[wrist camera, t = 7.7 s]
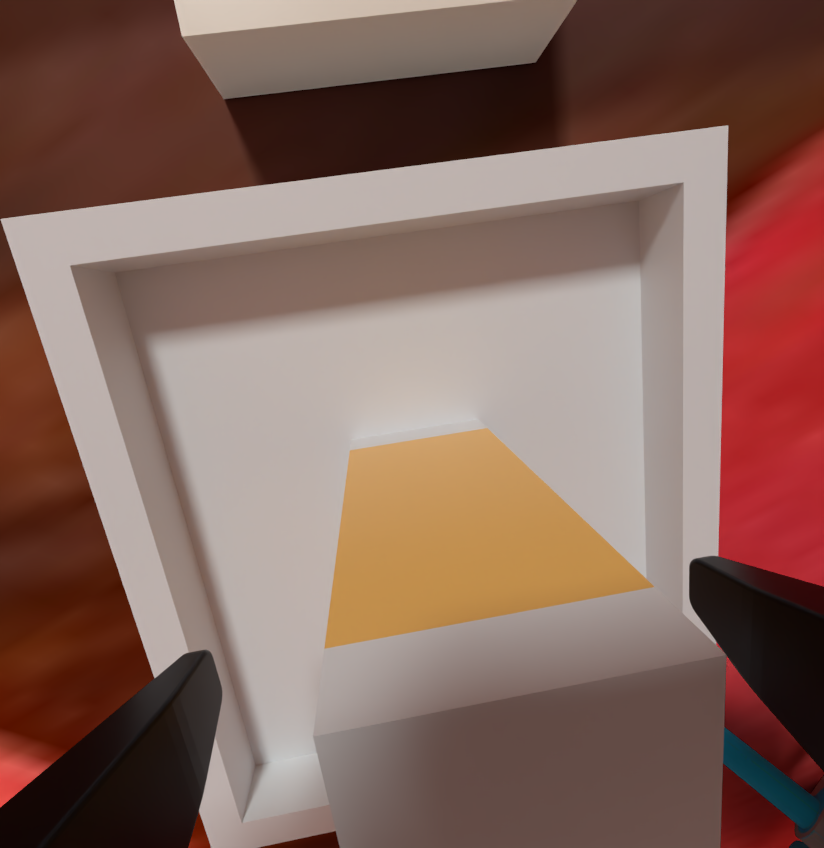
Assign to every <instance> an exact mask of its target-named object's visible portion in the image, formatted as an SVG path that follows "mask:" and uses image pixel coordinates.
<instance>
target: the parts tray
mask: <svg viewBox="0 0 824 848" xmlns="http://www.w3.org/2000/svg"><path fill="white" fill-rule="evenodd" d="M727 158H728V125H727V126H720V127H712V128H704V129H696V130H689V131H681V132H673V133H665V134H657V135H650V136H642V137H634V138H626V139H619V140H611V141H603V142H595V143H588V144H580V145H572V146H564V147H556V148H549V149H541V150H533V151H525V152H518V153H510V154H502V155H494V156H487V157H479V158H471V159H463V160H455V161H448V162H440V163H432V164H424V165H417V166H409V167H401V168H393V169H385V170H378V171H370V172H362V173H354V174H347V175H339V176H331V177H323V178H316V179H308V180H300V181H292V182H284V183H277V184H269V185H261V186H253V187H246V188H238V189H230V190H222V191H214V192H207V193H199V194H191V195H183V196H176V197H168V198H160V199H152V200H145V201H137V202H129V203H121V204H113V205H106V206H98V207H90V208H82V209H75V210H67V211H59V212H51V213H43V214H36V215H28V216H20V217H12V218H5V219H1V222H2V225H3V228H4V231H5V234H6V237H7V240H8V243H9V246H10V249H11V252H12V255H13V258H14V261H15V264H16V267H17V270H18V273H19V276H20V278H21V281H22V284H23V287H24V290H25V293H26V296H27V299H28V302H29V305H30V308H31V311H32V314H33V317H34V320H35V323H36V326H37V329H38V332H39V335H40V338H41V341H42V344H43V347H44V350H45V353H46V356H47V359H48V362H49V365H50V368H51V371H52V374H53V377H54V380H55V383H56V386H57V389H58V392H59V395H60V398H61V401H62V404H63V407H64V410H65V413H66V416H67V419H68V422H69V425H70V428H71V431H72V434H73V437H74V440H75V442H76V445H77V448H78V451H79V454H80V457H81V460H82V463H83V466H84V469H85V472H86V475H87V478H88V481H89V484H90V487H91V490H92V493H93V496H94V499H95V502H96V505H97V508H98V511H99V514H100V517H101V520H102V523H103V526H104V529H105V532H106V535H107V538H108V541H109V544H110V547H111V550H112V553H113V556H114V559H115V562H116V565H117V568H118V571H119V574H120V577H121V580H122V583H123V586H124V589H125V592H126V595H127V598H128V601H129V603H130V606H131V609H132V612H133V615H134V618H135V621H136V624H137V627H138V630H139V633H140V636H141V639H142V642H143V645H144V648H145V651H146V654H147V657H148V660H149V663H150V666H151V669H152V672H153V675H154V678H156V677H157V676H158V675H159V674H161V673H162V672H163V671H164V670H165V669H167V668H168V667H169V666H170V665H171V664H173V663H174V662H175V661H176V660H177V659H179V658H180V657H181V656H182V655H183V654H185V653H189V652H194V651H199V650H205V649H206V650H209V651H210V652H211V653H212V655H213V658H214V662H215V665H216V668H217V672H218V675H219V679H220V682H221V686H222V704H221V709H220V714H219V719H218V724H217V729H216V734H215V740H214V745H213V750H212V755H211V760H210V765H209V770H208V775H207V780H206V785H205V789H204V794H203V798H202V801H201V805H200V809H199V812H200V815H201V818H202V821H203V824H204V827H205V830H206V833H207V836H208V839H209V842H210V845H211V848H258V847H262V846H267V845H272V844H277V843H281V842H286V841H291V840H296V839H300V838H305V837H310V836H314V835H319V834H324V833H329V832H333V831H336V830H335V826H334V821H333V817H332V813H331V809H330V805H329V801H328V797H327V792H326V788H325V784H324V780H323V776H322V772H321V768H320V763H319V759H318V755H317V751H316V747H315V743H314V739H313V733H314V725H315V718H316V710H317V702H318V694H319V686H320V679H321V671H322V663H323V655H324V647H325V640H326V632H327V624H328V616H329V608H330V601H331V593H332V585H333V577H334V569H335V562H336V554H337V546H338V538H339V530H340V523H341V515H342V507H343V499H344V491H345V484H346V476H347V468H348V460H349V452H350V445H351V440H352V439H358V438H365V437H371V436H377V435H383V434H389V433H396V432H402V431H408V430H414V429H420V428H427V427H433V426H439V425H445V424H452V423H458V422H464V421H470V420H476V419H478V420H479V421H480V422H481V423H483V424H484V425H485V426H486V427H487V428H488V429H489V430H490V431H491V432H492V433H493V434H494V435H495V436H496V437H497V438H498V439H499V440H500V441H501V442H503V443H504V444H505V445H506V446H507V447H508V448H509V449H510V450H511V451H512V452H513V453H514V454H515V455H516V456H517V457H518V458H519V459H520V460H522V461H523V462H524V463H525V464H526V465H527V466H528V467H529V468H530V469H531V470H532V471H533V472H534V473H535V474H536V475H537V476H538V477H539V478H541V479H542V480H543V481H544V482H545V483H546V484H547V485H548V486H549V487H550V488H551V489H552V490H553V491H554V492H555V493H556V494H557V495H558V496H559V497H561V498H562V499H563V500H564V501H565V502H566V503H567V504H568V505H569V506H570V507H571V508H572V509H573V510H574V511H575V512H576V513H577V514H578V515H580V516H581V517H582V518H583V519H584V520H585V521H586V522H587V523H588V524H589V525H590V526H591V527H592V528H593V529H594V530H595V531H596V532H597V533H598V534H600V535H601V536H602V537H603V538H604V539H605V540H606V541H607V542H608V543H609V544H610V545H611V546H612V547H613V548H614V549H615V550H616V551H617V552H619V553H620V554H621V555H622V556H623V557H624V558H625V559H626V560H627V561H628V562H629V563H630V564H631V565H632V566H633V567H634V568H635V569H636V570H638V571H639V572H640V573H641V574H642V575H643V576H644V577H645V578H646V579H647V580H648V581H649V582H650V583H651V584H652V585H653V586H654V587H655V588H656V589H658V590H659V591H660V592H661V593H662V594H663V595H664V596H665V597H666V598H667V599H668V600H669V601H670V602H671V603H672V604H673V605H674V606H675V607H677V608H678V609H679V610H680V611H681V612H682V613H683V614H684V615H685V616H686V617H687V618H688V619H689V620H690V621H691V622H692V623H693V624H694V625H695V626H697V627H698V628H699V629H700V630H701V631H702V632H703V633H704V634H705V635H706V636H707V637H708V638H709V639H710V640H711V641H712V642H713V643H714V644H716V640H715V639H714V638H713V636H712V635H711V633H710V632H709V631H708V629H707V628H706V627H705V625H704V624H703V622H702V621H701V620H700V618H699V617H698V616H697V614H696V613H695V611H694V610H693V608H692V606H691V603H690V600H689V565H690V562H691V561H692V560H693V559H695V558H700V557H706V556H718V541H719V498H720V456H721V413H722V371H723V328H724V285H725V243H726V200H727Z"/></svg>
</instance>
